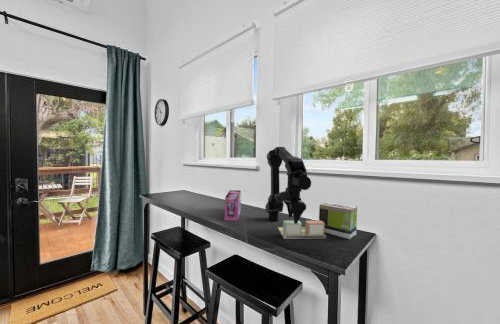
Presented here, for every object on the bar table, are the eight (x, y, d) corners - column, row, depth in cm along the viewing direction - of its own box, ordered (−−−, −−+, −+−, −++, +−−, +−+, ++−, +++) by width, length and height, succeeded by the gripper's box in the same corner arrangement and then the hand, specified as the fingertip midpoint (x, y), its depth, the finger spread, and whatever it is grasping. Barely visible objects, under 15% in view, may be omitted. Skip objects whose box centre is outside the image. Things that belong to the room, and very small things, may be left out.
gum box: (237, 221, 124) (238, 198, 124) (223, 221, 124) (223, 197, 124) (240, 210, 148) (241, 190, 147) (229, 210, 148) (229, 190, 148)
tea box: (356, 236, 106) (358, 206, 106) (349, 242, 99) (351, 210, 98) (326, 228, 116) (327, 200, 116) (317, 233, 109) (318, 204, 108)
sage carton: (282, 234, 103) (283, 220, 103) (298, 234, 104) (299, 220, 103) (284, 237, 99) (285, 223, 99) (301, 237, 99) (301, 223, 99)
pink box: (305, 234, 104) (305, 220, 103) (320, 234, 104) (321, 220, 104) (307, 237, 100) (308, 223, 99) (324, 237, 100) (324, 223, 100)
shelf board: (277, 229, 113) (277, 224, 113) (313, 229, 114) (314, 224, 114) (283, 242, 98) (284, 235, 97) (325, 241, 99) (326, 235, 99)
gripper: (272, 183, 109) (271, 214, 109) (280, 189, 90) (279, 227, 91) (295, 183, 109) (294, 214, 110) (307, 189, 91) (305, 227, 92)
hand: (292, 220), depth 101 cm, fingers open, 9 cm apart
